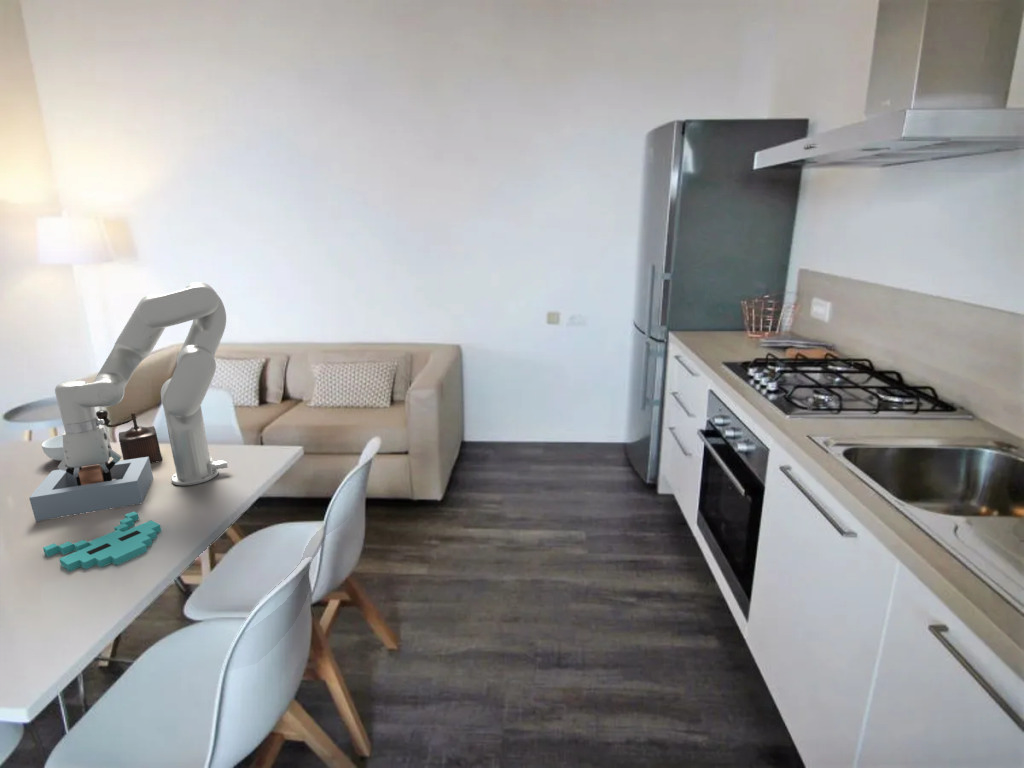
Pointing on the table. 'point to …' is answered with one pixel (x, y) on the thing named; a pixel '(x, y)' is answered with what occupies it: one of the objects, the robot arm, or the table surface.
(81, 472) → the terracotta cube
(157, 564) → the table surface
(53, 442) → the cereal bowl
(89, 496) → the slot box
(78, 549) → the alien figure
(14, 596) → the table surface
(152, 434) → the brown manual coffee grinder
